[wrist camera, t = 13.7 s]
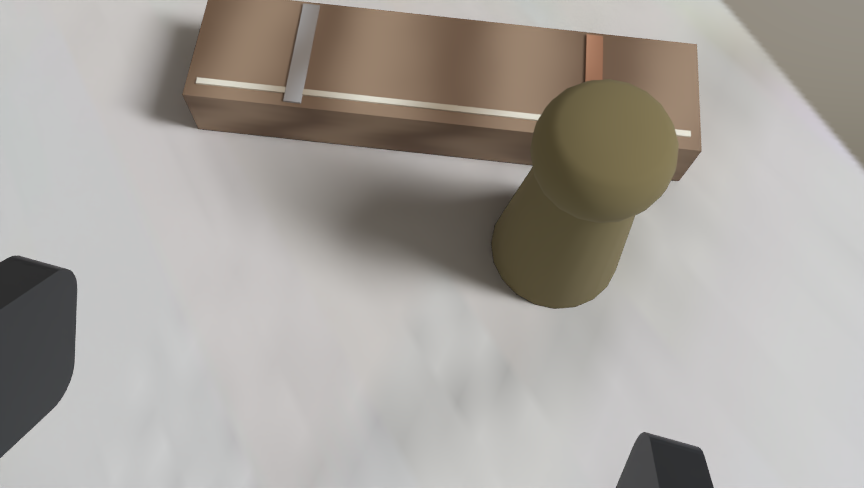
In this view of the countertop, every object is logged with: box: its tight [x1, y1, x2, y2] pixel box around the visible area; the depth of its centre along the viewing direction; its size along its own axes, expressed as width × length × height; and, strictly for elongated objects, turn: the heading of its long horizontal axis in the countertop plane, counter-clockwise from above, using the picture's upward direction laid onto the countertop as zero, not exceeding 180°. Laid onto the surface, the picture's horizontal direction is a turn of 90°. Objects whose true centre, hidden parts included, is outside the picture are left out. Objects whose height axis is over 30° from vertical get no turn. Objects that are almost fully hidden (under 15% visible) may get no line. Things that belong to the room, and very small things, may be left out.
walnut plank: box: [182, 0, 701, 181], centre depth 37 cm, size 24×6×3 cm, turn 84°
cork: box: [491, 79, 679, 309], centre depth 30 cm, size 6×6×11 cm
